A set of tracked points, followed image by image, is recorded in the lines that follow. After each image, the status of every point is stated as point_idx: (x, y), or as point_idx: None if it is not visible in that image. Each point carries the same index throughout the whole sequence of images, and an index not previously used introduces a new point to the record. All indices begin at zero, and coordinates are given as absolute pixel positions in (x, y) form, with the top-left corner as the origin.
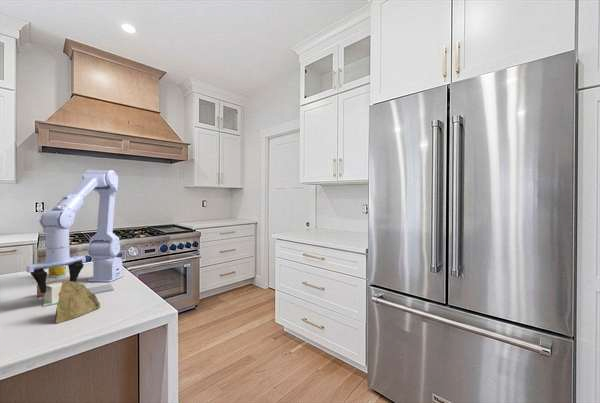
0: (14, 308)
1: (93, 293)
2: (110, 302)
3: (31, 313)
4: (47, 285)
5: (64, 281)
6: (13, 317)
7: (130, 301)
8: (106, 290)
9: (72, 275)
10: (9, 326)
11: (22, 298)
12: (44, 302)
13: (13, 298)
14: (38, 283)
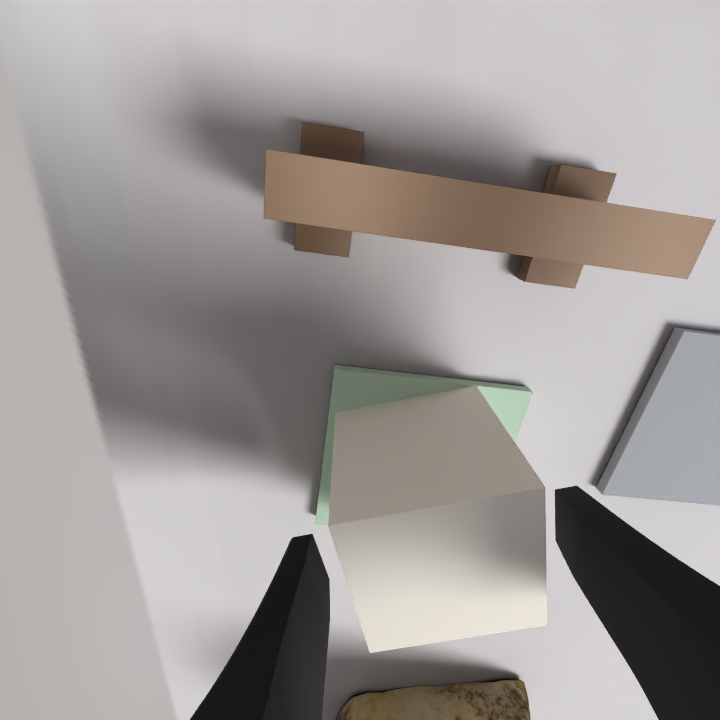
0: (149, 418)
1: (627, 492)
2: (588, 666)
3: (254, 575)
4: (348, 577)
5: (526, 542)
6: (173, 573)
7: (646, 702)
8: (713, 503)
9: (645, 645)
10: (175, 661)
11: (165, 132)
12: (326, 469)
13: (69, 30)
14: (254, 643)
